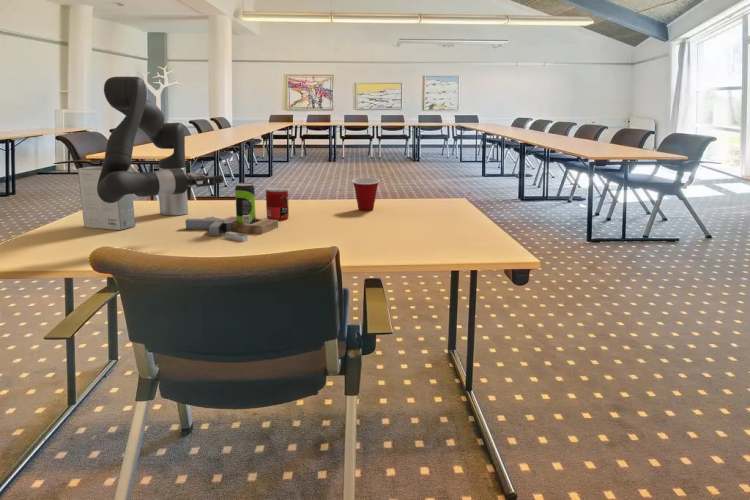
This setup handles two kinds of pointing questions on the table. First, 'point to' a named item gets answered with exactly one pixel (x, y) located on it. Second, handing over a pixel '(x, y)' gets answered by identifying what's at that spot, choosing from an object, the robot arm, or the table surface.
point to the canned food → (277, 203)
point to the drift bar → (236, 236)
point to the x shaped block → (210, 225)
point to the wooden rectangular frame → (254, 225)
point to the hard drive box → (103, 204)
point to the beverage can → (245, 203)
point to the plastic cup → (365, 192)
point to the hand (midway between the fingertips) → (214, 177)
